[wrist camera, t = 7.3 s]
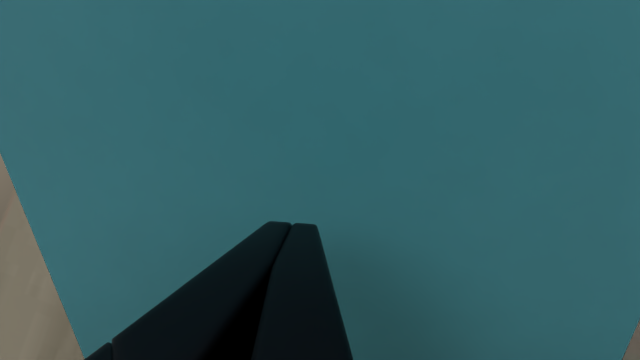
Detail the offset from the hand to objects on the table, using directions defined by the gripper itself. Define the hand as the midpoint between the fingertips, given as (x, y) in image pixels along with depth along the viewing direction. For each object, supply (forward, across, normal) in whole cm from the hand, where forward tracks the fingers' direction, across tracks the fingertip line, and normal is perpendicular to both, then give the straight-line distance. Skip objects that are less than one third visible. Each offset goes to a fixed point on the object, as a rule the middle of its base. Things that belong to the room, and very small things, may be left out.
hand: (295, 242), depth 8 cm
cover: (+2, 0, 0) cm, 2 cm away
